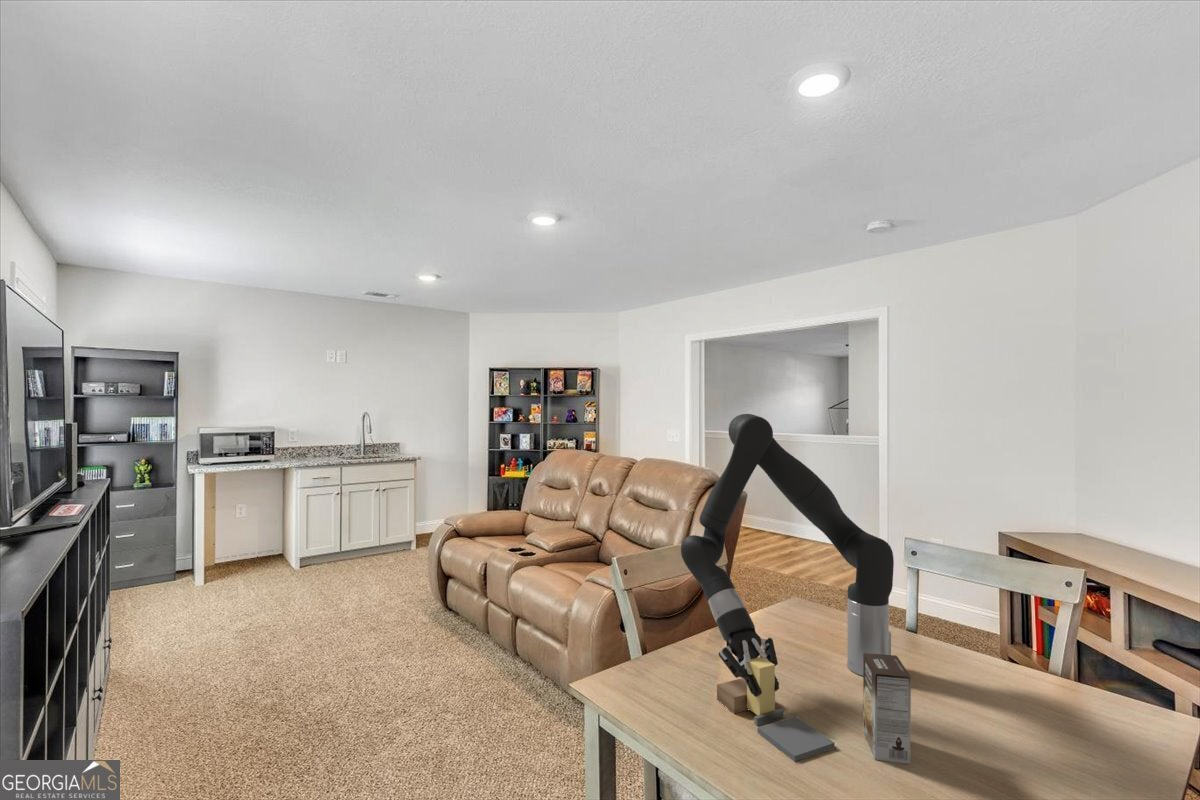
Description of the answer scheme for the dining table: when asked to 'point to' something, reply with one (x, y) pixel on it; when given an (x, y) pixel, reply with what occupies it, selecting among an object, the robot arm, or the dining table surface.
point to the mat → (795, 738)
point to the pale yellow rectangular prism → (762, 686)
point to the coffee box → (886, 707)
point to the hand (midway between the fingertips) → (767, 692)
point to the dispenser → (742, 700)
